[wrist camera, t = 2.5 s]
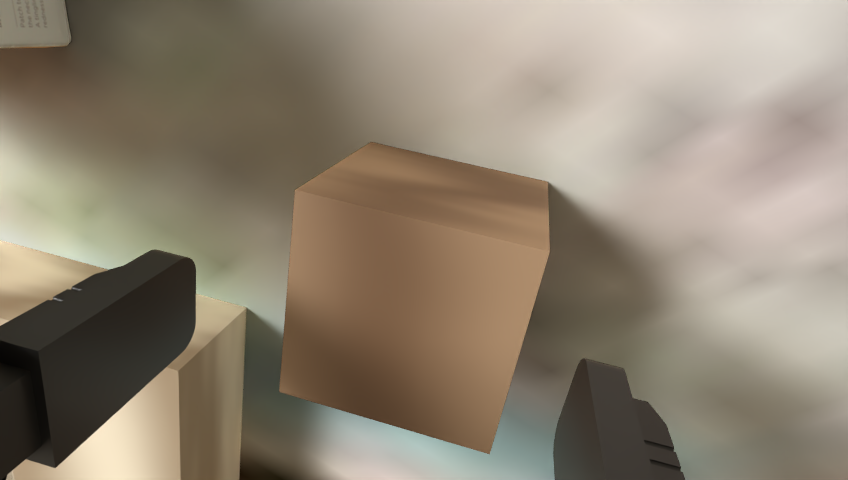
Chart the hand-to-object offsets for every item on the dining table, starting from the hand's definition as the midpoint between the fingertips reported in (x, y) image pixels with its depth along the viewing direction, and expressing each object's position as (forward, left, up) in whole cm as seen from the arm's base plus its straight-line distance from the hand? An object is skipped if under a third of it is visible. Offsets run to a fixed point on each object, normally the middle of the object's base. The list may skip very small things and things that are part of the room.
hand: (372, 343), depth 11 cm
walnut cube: (0, 0, -5) cm, 5 cm away
